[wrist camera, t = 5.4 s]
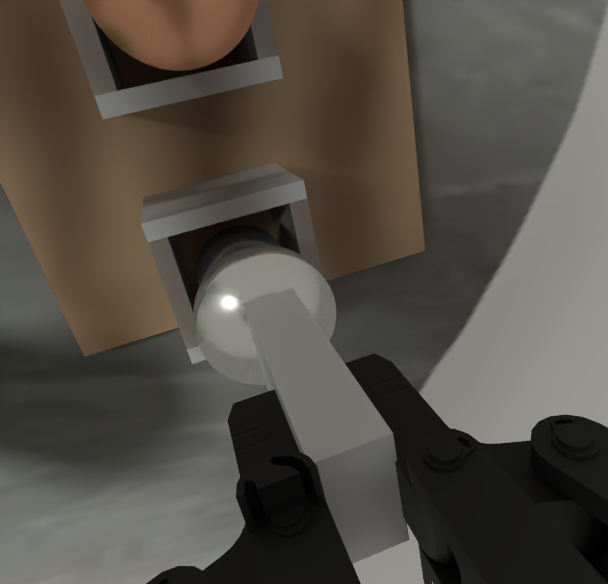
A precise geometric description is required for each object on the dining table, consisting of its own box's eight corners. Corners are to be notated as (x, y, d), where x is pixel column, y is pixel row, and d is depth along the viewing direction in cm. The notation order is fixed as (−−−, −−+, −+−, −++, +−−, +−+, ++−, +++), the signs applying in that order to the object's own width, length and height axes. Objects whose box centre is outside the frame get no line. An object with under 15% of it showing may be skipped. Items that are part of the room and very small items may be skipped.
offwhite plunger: (204, 332, 20) (219, 402, 15) (170, 232, 18) (176, 280, 13) (304, 300, 21) (346, 359, 16) (282, 201, 19) (322, 237, 14)
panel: (87, 344, 24) (69, 415, 19) (-309, -494, 12) (-635, -903, 7) (414, 244, 27) (476, 281, 22) (339, -499, 15) (432, -789, 10)
